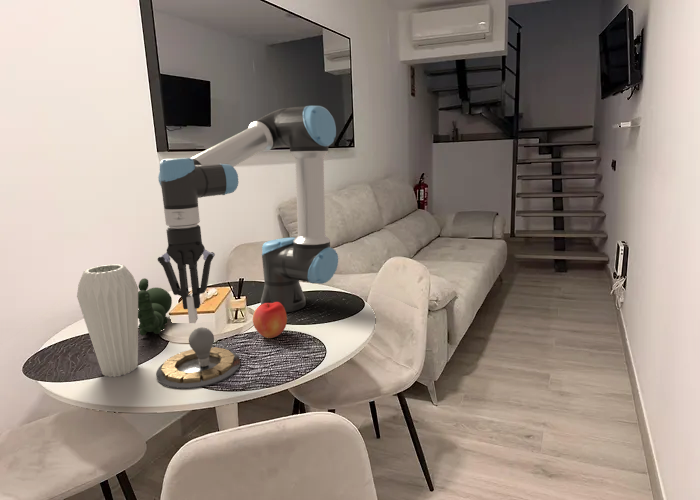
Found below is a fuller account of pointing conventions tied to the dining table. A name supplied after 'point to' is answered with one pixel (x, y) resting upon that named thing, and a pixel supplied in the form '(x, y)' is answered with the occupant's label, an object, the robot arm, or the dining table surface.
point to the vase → (111, 316)
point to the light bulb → (202, 344)
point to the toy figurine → (152, 308)
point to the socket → (197, 369)
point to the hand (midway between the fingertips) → (193, 320)
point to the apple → (270, 319)
